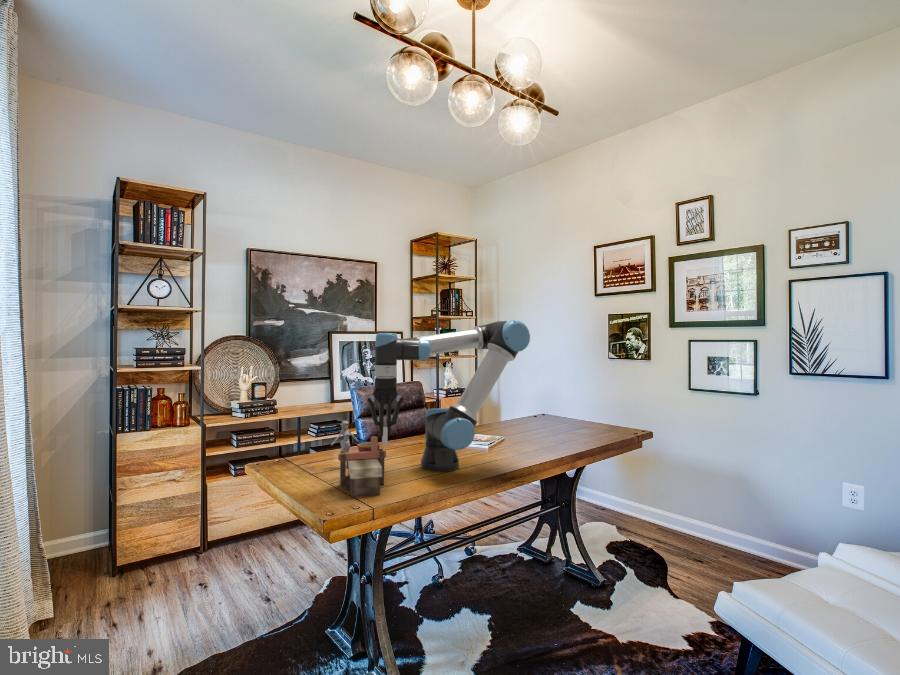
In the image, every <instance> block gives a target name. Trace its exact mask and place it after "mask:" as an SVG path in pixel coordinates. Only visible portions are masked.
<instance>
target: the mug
mask: <svg viewBox="0 0 900 675" xmlns="http://www.w3.org/2000/svg"><path fill="white" fill-rule="evenodd" d="M356 445H357V446H356V448H357V450H358V452H365V451H371V441H365V442H360V443H357V444H356ZM381 445H382V443H380V442H378V449H381ZM377 451H378V450H377ZM377 459H378V458H377Z"/></svg>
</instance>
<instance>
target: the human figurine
mask: <svg viewBox="0 0 900 675" xmlns="http://www.w3.org/2000/svg"><path fill="white" fill-rule="evenodd" d="M349 424H350V423H349V421H348V420H342V421H341V424H340V426H341V429H340V432H339V434H338V436H336V438H335V439H334V440H333V441H332V443H331V444H330V446H333V445H334V444H335V442H337V440H338V439H339V438H340V437H341V436H343V439H341V440H340V442H339V444H340V448H341V451H345V453H349V452H350V449H351V443H350V439H349V437H350V436H351V437H352V438H354V439H355V441H357V442H359V439H358V438H356V437H355V435H354V434H352V432H351V431H350V430H349ZM346 468H347V460H346Z"/></svg>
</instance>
